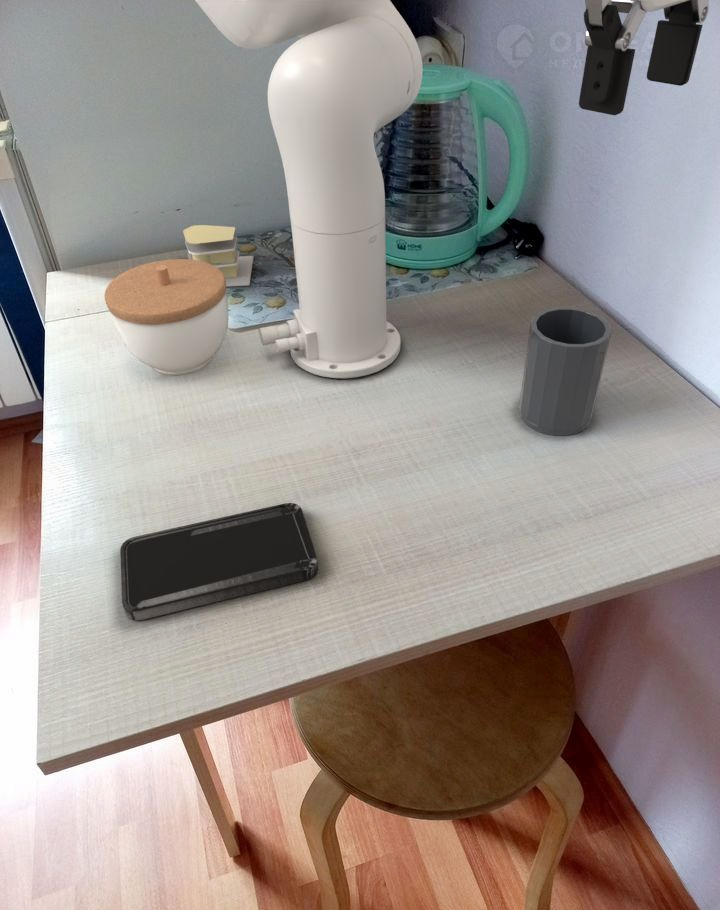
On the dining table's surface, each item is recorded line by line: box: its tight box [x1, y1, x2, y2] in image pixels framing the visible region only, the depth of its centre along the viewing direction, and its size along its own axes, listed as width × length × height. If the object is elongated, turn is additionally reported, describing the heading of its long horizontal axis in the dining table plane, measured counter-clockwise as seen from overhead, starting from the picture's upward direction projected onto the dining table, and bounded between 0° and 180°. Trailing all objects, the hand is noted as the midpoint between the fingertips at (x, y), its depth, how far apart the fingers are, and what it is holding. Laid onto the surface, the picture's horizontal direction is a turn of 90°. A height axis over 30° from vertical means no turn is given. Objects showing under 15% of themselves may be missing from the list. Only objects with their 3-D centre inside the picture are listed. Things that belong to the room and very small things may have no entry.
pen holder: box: [518, 306, 612, 437], centre depth 67 cm, size 7×7×10 cm
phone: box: [119, 502, 319, 621], centre depth 57 cm, size 8×1×15 cm
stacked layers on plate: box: [182, 224, 254, 288], centre depth 95 cm, size 10×9×6 cm
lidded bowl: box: [104, 258, 229, 376], centre depth 77 cm, size 13×13×11 cm
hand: (634, 96), depth 52 cm, fingers open, 9 cm apart
